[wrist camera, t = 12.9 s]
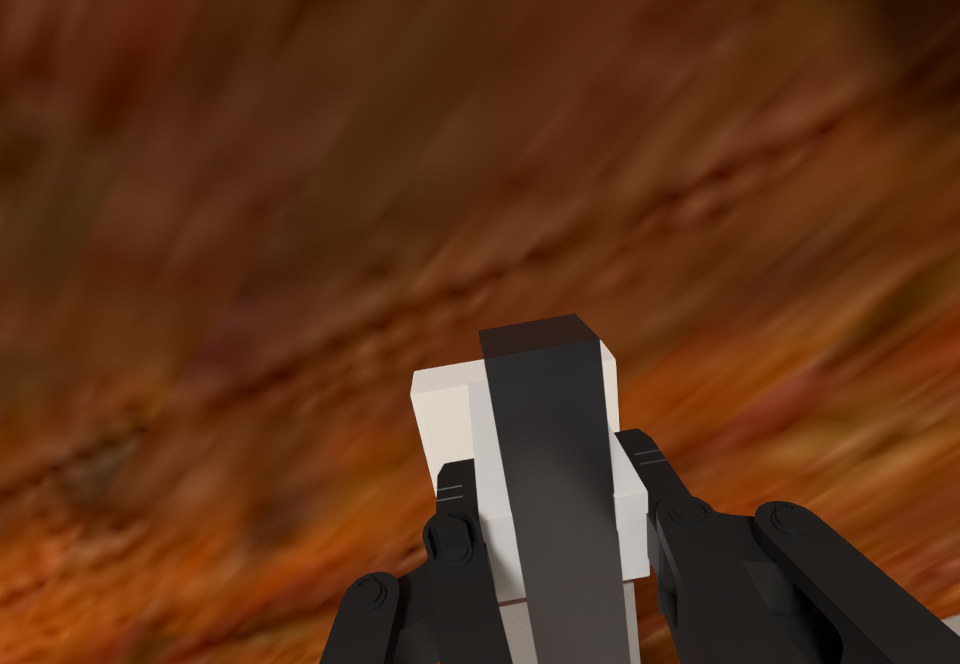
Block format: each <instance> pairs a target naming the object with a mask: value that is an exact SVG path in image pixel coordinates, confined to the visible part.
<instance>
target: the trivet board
mask: <svg viewBox="0 0 960 664" xmlns="http://www.w3.org/2000/svg"><path fill="white" fill-rule="evenodd" d="M600 346H601V357H602V367H603V378H604V388H605V399H606V409H607V420H608V424H609V425H610V427H611V429H612V431H613V432H620V431H619V413H618V394H617V375H616V359H615V358H614V357H613V355H612V354H611V353H610V352H609V350H608V349H607V348H606V346H605V345H604V344H603V342H602V341H601V340H600ZM482 380H487V376H486V371H485V365H484V360H483V359H482V360H477V361H471V362H465V363H459V364H453V365H448V366H442V367H436V368H430V369H424V370H419V371H414V376H413V382H412V388H411V394H410V396H411V399H412V403H413V407H414V411H415V415H416V419H417V423H418V427H419V431H420V435H421V439H422V443H423V447H424V451H425V455H426V459H427V462H428V466H429V470H430V474H431V478H432V482H433V486H434V490H435V494H436V498H437V475H438V474H439V472H440V470H441V468H442V466H443V465H444V463H449V462H455V461H460V460H466V459H472V458H474V452H473V440H472V428H471V417H470V405H469V393H468V383H470V382H476V381H482Z"/></svg>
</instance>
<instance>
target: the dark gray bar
mask: <svg viewBox="0 0 960 664" xmlns="http://www.w3.org/2000/svg"><path fill="white" fill-rule="evenodd" d="M479 337H480V343H481V348H482V354H483V360H484V365H485V371H486V376H487V382H488V388H489V393H490V399H491V405H492V410H493V416H494V421H495V427H496V433H497V438H498V444H499V449H500V455H501V461H502V466H503V471H504V477H505V482H506V488H507V493H508V498H509V504H510V509H511V513H512V518H513V524H514V529H515V535H516V543H517V549H518V554H519V560H520V565H521V571H522V577H523V582H524V588H525V594H526V597H525V598H520V599H514V600H508V601H502V602H498V604H499V608H500V613H501V617H502V621H503V625H504V629H505V633H506V637H507V641H508V645H509V649H510V653H511V657H512V661H513V664H640V652H639V641H638V629H637V618H636V606H635V595H634V583H633V580H632V579H629V580H623V577H622V566H621V556H620V545H619V535H618V531H617V526H616V515H615V505H614V494H615V493H614V482H613V472H612V462H611V451H610V441H609V430H608V420H607V409H606V399H605V388H604V378H603V367H602V357H601V346H600V338H599V337H598V336H597V335H596V334H595V333H594V332H593V331H592V330H591V329H590V328H589V327H588V326H587V325H586V324H585V323H584V322H583V321H582V320H581V319H580V318H579V317H578V316H577V315H576V314H570V315H564V316H559V317H553V318H547V319H542V320H536V321H531V322H525V323H520V324H514V325H508V326H503V327H497V328H492V329H486V330H481V331H479Z"/></svg>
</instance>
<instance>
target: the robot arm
mask: <svg viewBox="0 0 960 664" xmlns="http://www.w3.org/2000/svg"><path fill="white" fill-rule="evenodd" d="M468 393H469V405H470V417H471V428H472V440H473V452H474V458H472V459H466V460H460V461H455V462H449V463H444V465H443V466H442V468H441V470H440V472H439V474H438V475H437V502H436V514H435V515H434V516H433V517H431V518H430V519H429V520H428V522H427V524H426V525H425V527H424V530H423V536H422V537H423V540H424V544H425V547H426V551H427V554H428V559H427V560H426V562H424V563H423V564H422V565H421V566H420V567H419V568H417V569H415V570H414V571H412V572H410V573H408V574H406V575H404V576H402V577H400V578H397V579H396V578H395V577H394V576H392V575H391V574H389V573H386V572H374V573H370V574H366V575H365V576H363V577H361V578H359V579H358V580H356V581H355V582H354V583H353V584H352V585H351V586H350V587H349V588H348V589H347V591H346V593H345V595H344V596H343V598H342V600H341V603H340V606H339V609H338V612H337V615H336V618H335V620H334V623H333V626H332V629H331V632H330V635H329V638H328V640H327V643H326V646H325V649H324V652H323V655H322V657H321V660H320V663H319V664H436V663H438V662H440V664H513V661H512V657H511V653H510V649H509V645H508V641H507V637H506V633H505V629H504V625H503V621H502V617H501V613H500V608H499V604H498V602H502V601H508V600H514V599H520V598H525V597H526V594H525V588H524V582H523V577H522V571H521V565H520V560H519V554H518V549H517V543H516V535H515V529H514V524H513V518H512V513H511V509H510V504H509V498H508V493H507V488H506V482H505V477H504V471H503V466H502V461H501V455H500V449H499V444H498V438H497V433H496V427H495V421H494V416H493V410H492V405H491V399H490V393H489V388H488V382H487V380H482V381H476V382H470V383H468ZM608 430H609V441H610V451H611V462H612V472H613V482H614V493H615V494H614V505H615V515H616V526H617V531H618V535H619V545H620V556H621V566H622V577H623V580H629V579H634V578H640V577H646V576H650V567H649V561H650V563H651V565H652V567H653V569H654V571H655V573H656V575H657V588H658V613H659V615H663V609H664V612H665V615H666V618H667V622H668V625H669V628H670V631H671V634H672V637H673V640H674V643H675V646H676V649H677V652H678V655H679V658H680V661H681V664H960V636H958V635H957V634H956V633H955V632H954V631H952V630H951V629H950V628H949V627H948V626H947V625H945V624H944V623H943V622H942V621H941V620H939V619H938V618H937V617H936V616H935V615H934V614H932V613H931V612H930V611H929V610H928V609H926V608H925V607H924V606H923V605H922V604H921V603H919V602H918V601H917V600H916V599H915V598H913V597H912V596H911V595H910V594H909V593H908V592H906V591H905V590H904V589H903V588H902V587H900V586H899V585H898V584H897V583H896V582H895V581H893V580H892V579H891V578H890V577H889V576H887V575H886V574H885V573H884V572H883V571H882V570H880V569H879V568H878V567H877V566H876V565H874V564H873V563H872V562H871V561H870V560H869V559H867V558H866V557H865V556H864V555H863V554H862V553H860V552H859V551H858V550H857V549H856V548H854V547H853V546H852V545H851V544H850V543H849V542H847V541H846V540H845V539H844V538H843V537H841V536H840V535H839V534H838V533H837V532H836V531H834V530H833V529H832V528H831V527H830V526H828V525H827V524H826V523H825V522H824V521H823V520H821V519H820V518H819V517H818V516H817V515H815V514H814V513H812V512H811V511H809V510H808V509H806V508H804V507H802V506H799V505H796V504H794V503H790V502H783V501H772V502H766V503H764V504H762V505H760V506H759V507H758V509H757V510H756V512H755V517H753V516H741V515H730V514H724V513H719V512H716V511H714V510H713V509H712V508H711V507H710V505H709V504H707V503H706V502H704V501H702V500H701V499H699V498H696V497H693V496H691V494H690V493H689V491H688V490H687V489H686V487H685V486H684V484H683V483H682V481H681V480H680V478H679V477H678V476H677V474H676V473H675V471H674V470H673V468H672V467H671V465H670V464H669V463H668V461H666V459H665V457H664V455H663V454H662V452H661V451H659V448H658V447H657V445H656V444H655V442H654V441H653V439H652V438H651V437H650V436H648V435H647V434H645V433H644V432H642V431H641V430H639V429H631V430H625V431H620V432H613V431H612V429H611V427H610V425H609V424H608Z"/></svg>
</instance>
